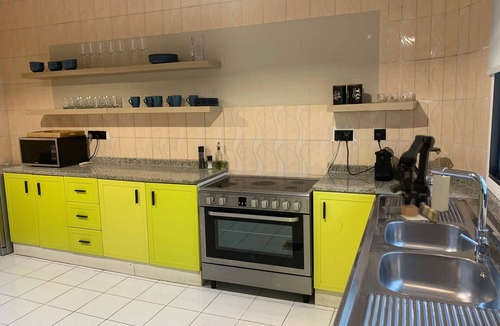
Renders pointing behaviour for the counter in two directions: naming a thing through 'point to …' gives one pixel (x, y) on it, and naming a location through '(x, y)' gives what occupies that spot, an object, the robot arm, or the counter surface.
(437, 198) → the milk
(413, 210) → the block
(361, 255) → the counter surface
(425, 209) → the tan wooden bar
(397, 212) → the grey panel
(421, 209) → the olive long rounded piece
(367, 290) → the counter surface
